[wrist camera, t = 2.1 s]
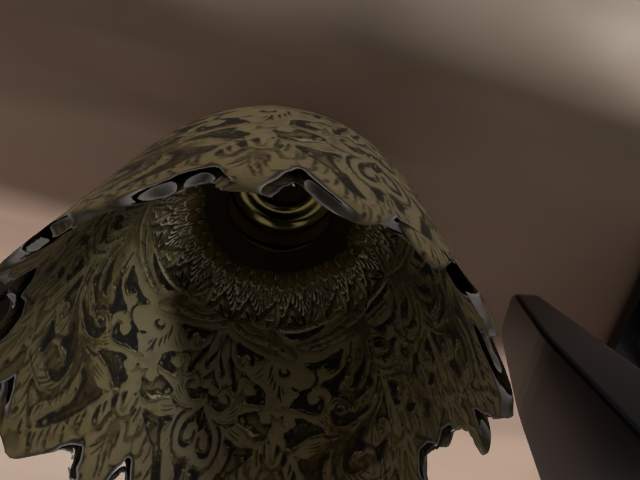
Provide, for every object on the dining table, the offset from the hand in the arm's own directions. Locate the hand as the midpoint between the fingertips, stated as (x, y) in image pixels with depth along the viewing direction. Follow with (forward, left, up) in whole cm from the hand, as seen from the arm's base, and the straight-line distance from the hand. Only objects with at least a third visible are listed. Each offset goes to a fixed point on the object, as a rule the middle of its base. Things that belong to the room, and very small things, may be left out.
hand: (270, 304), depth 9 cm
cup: (0, 0, -6) cm, 6 cm away
